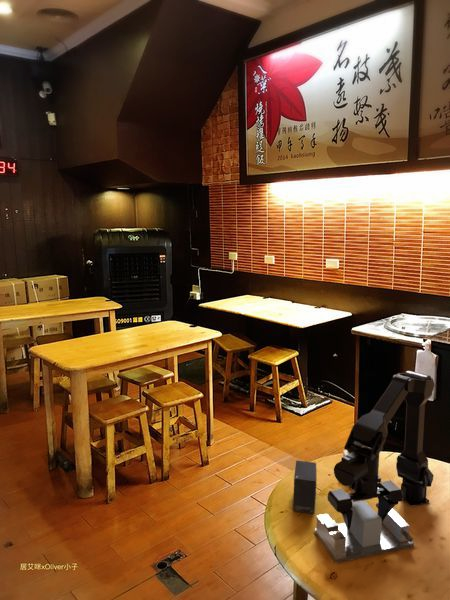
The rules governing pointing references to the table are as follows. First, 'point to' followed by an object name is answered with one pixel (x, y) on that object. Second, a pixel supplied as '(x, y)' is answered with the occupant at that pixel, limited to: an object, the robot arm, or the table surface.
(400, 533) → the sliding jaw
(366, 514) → the block
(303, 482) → the small box
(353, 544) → the vise
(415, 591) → the table surface
